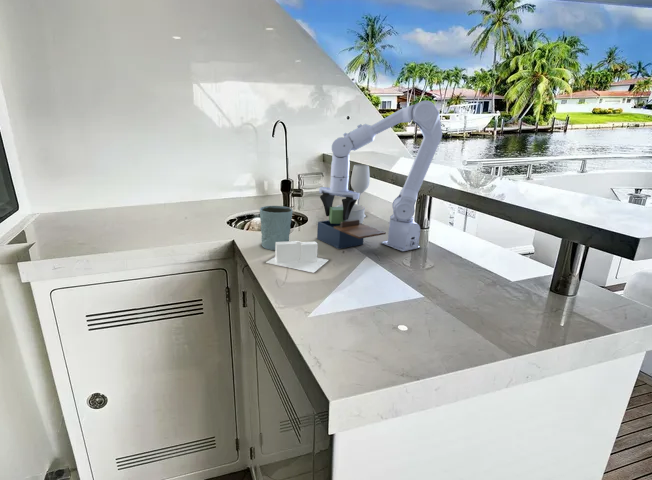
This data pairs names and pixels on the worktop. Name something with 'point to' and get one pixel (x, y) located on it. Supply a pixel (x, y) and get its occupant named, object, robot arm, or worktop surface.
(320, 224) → the tin
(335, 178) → the robot arm
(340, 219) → the block
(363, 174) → the wineglass
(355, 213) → the teacup
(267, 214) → the teal plant pot
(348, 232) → the tin lid
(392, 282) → the worktop surface
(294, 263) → the twin cubes on base
